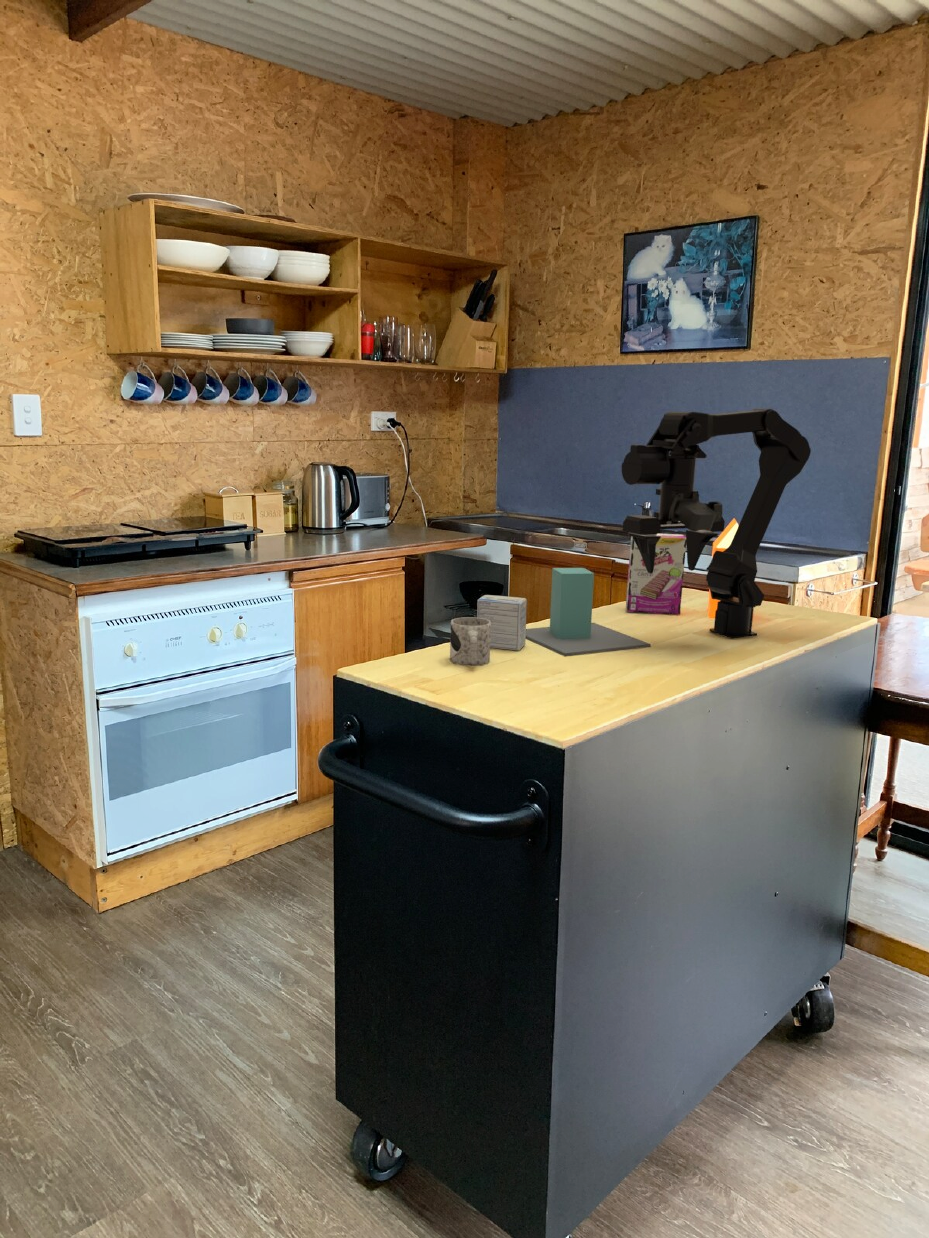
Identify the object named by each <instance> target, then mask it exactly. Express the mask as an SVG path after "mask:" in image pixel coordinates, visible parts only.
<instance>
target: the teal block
mask: <svg viewBox="0 0 929 1238" xmlns="http://www.w3.org/2000/svg"><path fill="white" fill-rule="evenodd" d="M551 570H552V571H551V572H552V573H551V592H550V611H549V612H550V614H549V617H550V618H549V627H550V632H551V633H552V634H553V635H554V636H555V637H557V638H558V639H590V637H591V623H592V619H593V618H592V616H593V615H592V613H593V600H594V599H593V597H594V596H593V595H594V581H595V573H594V572H593V571H590V570H589V569H586V568H585V567H552V569H551Z"/></svg>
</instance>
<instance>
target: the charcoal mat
mask: <svg viewBox="0 0 929 1238" xmlns="http://www.w3.org/2000/svg"><path fill="white" fill-rule="evenodd" d="M526 640H528V641H530V642H533V643H535V644H538V645H539V646H542V647H544V648H546V649H547V650H551V651H553V652H554V653H558V654H559V655H561V656H564V657H568V656H570V657H571V656H578V655H588V654H596V653H606V652H614V651H621V650H622V651H623V650H630V649H631V650H632V649H639V648H640V649H641V648H650V647H651V643H650V642H647V641H644V640H642V639H638V638H635V637H633V636H630V635H628V634H626V633H624V632H620V631H617V630H615V629H612V628H610V627H606V626H603V625H601V624H599V623H596V622H591V637H590V639H558V638H557V637H555V636H554V635H553V634H552V633H551V632H550V626H543V627H542V626H541V627H531V628H526Z"/></svg>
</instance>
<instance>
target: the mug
mask: <svg viewBox="0 0 929 1238" xmlns="http://www.w3.org/2000/svg"><path fill="white" fill-rule="evenodd" d="M449 636H450V638H449V640H450V643H449V661H450V663H452V664H455V665H458V666H466V667H479V666H484V665H488V664H490V662H491V648H490V638H491V621H489V620H487V619H483V618H477V617H473V616H471V617H470V616H468V617H467V616H466V617H465V616H464V617H456V618H453V619H451V620H450V635H449Z"/></svg>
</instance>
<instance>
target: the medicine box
mask: <svg viewBox="0 0 929 1238" xmlns="http://www.w3.org/2000/svg"><path fill="white" fill-rule="evenodd" d="M527 602H528V601H527V599H526V598H525V597H516V596H505V595H493V594H492V595H491V594H484V595H482V596H481V597H480V598H478V599H477V603H476V605H477V606H476V607H477V612H476V618H483V619H487V620H489V621H491V638H490V649H491V648H492V649H499V650H502V649H503V650H510V651H520V650H521V649H522V648H523V647H524V646H525V645H526V643H527V642H526V640H527V639H526V629H527V604H528V603H527Z"/></svg>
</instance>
